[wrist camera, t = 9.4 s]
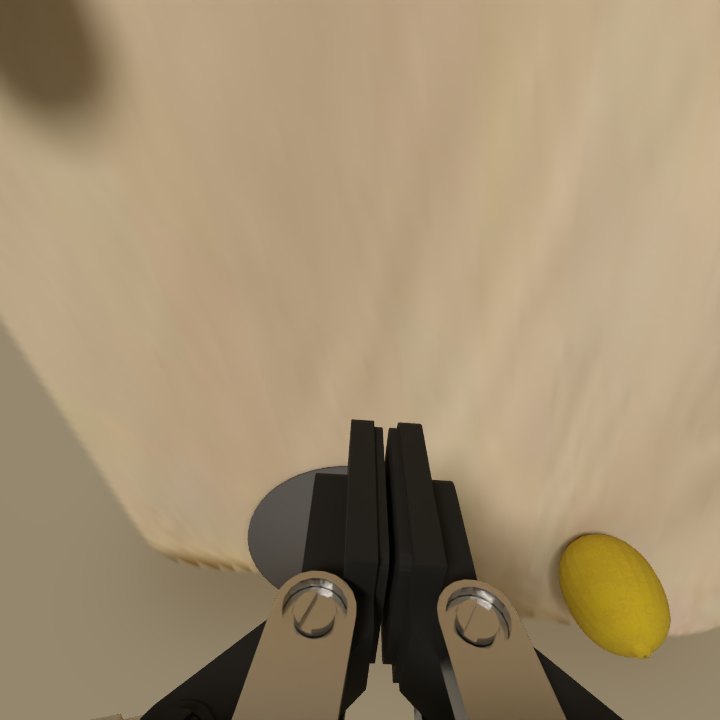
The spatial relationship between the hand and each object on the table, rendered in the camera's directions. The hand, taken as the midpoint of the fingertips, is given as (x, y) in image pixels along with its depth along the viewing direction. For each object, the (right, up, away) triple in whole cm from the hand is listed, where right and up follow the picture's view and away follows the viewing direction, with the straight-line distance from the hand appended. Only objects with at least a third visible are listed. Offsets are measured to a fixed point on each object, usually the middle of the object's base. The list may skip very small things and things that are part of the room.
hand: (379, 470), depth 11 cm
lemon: (+15, -9, +21) cm, 27 cm away
